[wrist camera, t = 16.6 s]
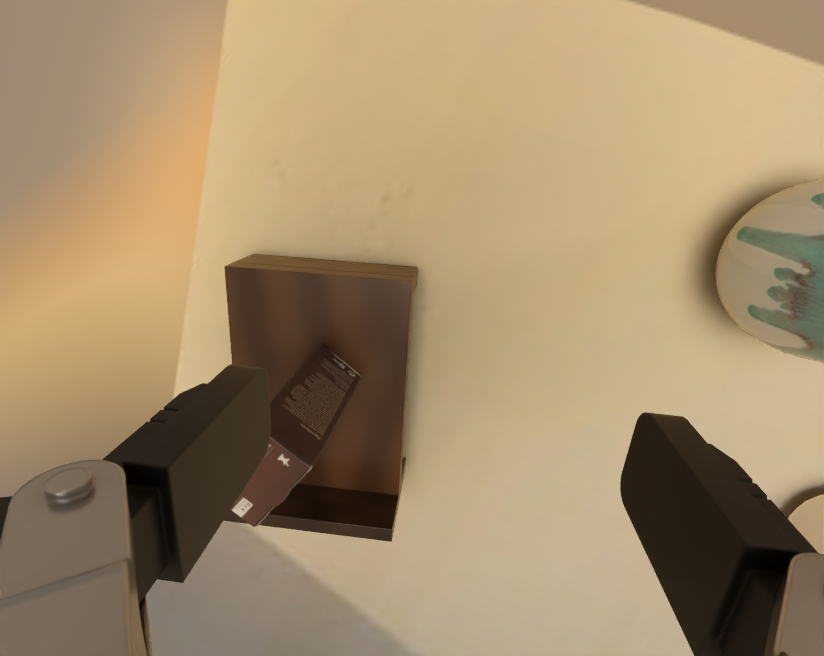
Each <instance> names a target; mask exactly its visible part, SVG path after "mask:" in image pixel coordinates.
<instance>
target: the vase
mask: <svg viewBox="0 0 824 656" xmlns="http://www.w3.org/2000/svg"><path fill="white" fill-rule="evenodd" d="M716 286H717V291H718V294H719V297H720V300H721V302H722V305H723V306H724V308H725V310H726V311H727V313H728V314H729V316H730V317H731V318H732V320H733V321H734V322H735V323H736V324H737V325H738V326H739V327H740V328H741V329H742V330H744V331H745V332H746V333H748V334H749V335H751V336H753V337H755V338H756V339H758V340H760V341H761V342H763V343H765V344H767V345H769V346H771V347H773V348H775V349H777V350H779V351H781V352H783V353H787V354H791V355H794V356H797V357H800V358H804V359H808V360H812V361H816V362H820V363H824V179H819V180H814V181H809V182H805V183H801V184H798V185H795V186H791V187H789V188H786V189H784V190H782V191H780V192H777V193H775V194H773V195H771V196H769V197H768V198H766V199H764V200H763V201H761V202H760V203H758V204H757V205H755V206H754V207H753V208H752V209H750V210H749V211H748V212H747V213H746V214H745V215H744V216H743V217H742V218H741V219H740V220H739V221H738V222H737V223H736V224H735V226H734V227H733V228H732V230H731V231H730V232H729V234H728V235H727V237H726V239H725V241H724V243H723V245H722V247H721V250H720V252H719V256H718V260H717V265H716Z"/></svg>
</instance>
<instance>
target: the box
mask: <svg viewBox="0 0 824 656" xmlns="http://www.w3.org/2000/svg"><path fill="white" fill-rule="evenodd" d="M361 378H362V377H361V375H360V374H359V373H358V372H357V371H356V370H355V369H353V368H352V367H351V366H349V365H348V364H347V363H346V362H345V361H343V360H342V359H340V358H339V357H338V356H337V355H335V354H334V353H333V352H331V351H330V350H329V349H328V348H326V347H325V346H323V345H322V344H321V345H319V346H318V348H317V349H316V350H315V351H314V352H313V353H312V354H311V355H310V357H309V358H308V359H307V360H306V361H305V362H304V363H303V364H302V366H301V367H300V368H299V369H298V370H297V371H296V373H295V374H294V375H293V376H292V377H291V378H290V380H289V381H288V382H287V383H286V384H285V385H284V387H283V388H282V389H281V390H280V391H279V392H278V394H277V395H276V396H275V397H274V398H273V399H272V400H271V402H270V420H271V435H270V442H269V446H268V449H267V452H266V455H265V457H264V458H263V460H262V462H261V463H260V465H259V466H258V468H257V469H256V471H255V472H254V474H253V476H252V477H251V479H250V480H249V482H248V483H247V485H246V486H245V488H244V489H243V491H242V492H241V494H240V496H239V497H238V499H237V500H236V502H235V503H234V505H233V506H232V508H231V510H232V511H233V512H234V513H236V514H237V515H238V516H240V517H241V518H243V519H244V520H245V521H247V522H248V523H249V524H250V525H252V526H254V527H255V526H258V525H259V524H260V523H261V522H262V520H263V519H264V518H265V517H266V516H267V515H268V514H269V513H270V512H271V511H272V510H273V509H274V507H276V506H278V505H279V504H280V503H281V502H283V501H284V499H285V498H286V497H287V496H288V494H289V492H290V491H291V490H292V488H294V487H295V485H296V484H297V483H298V482H299V481H300V480H301V479H302V478H303V477H304V476H305V475H306V474H307V473H308V472H309V471H310V470H311V469H312V467H313V465H314V464H315V462H316V460H317V458H318V456H319V455H320V453H321V451H322V449H323V448H324V446H325V444H326V442H327V440H328V438H329V437H330V435H331V433H332V431H333V429H334V427H335V426H336V424H337V422H338V420H339V418H340V416H341V415H342V413H343V411H344V409H345V407H346V406H347V404H348V402H349V400H350V398H351V396H352V395H353V393H354V391H355V389H356V388H357V386H358V384H359V382H360V380H361Z"/></svg>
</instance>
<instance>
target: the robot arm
mask: <svg viewBox="0 0 824 656" xmlns="http://www.w3.org/2000/svg"><path fill="white" fill-rule="evenodd" d="M270 435H271V420H270V391H269V375H268V372H267V370H266V369H265V368H259V367H250V366H242V365H233V364H231V365H229V366H227V367H226V368H225V369H224V370H223V371H222V372H221V373H219V374H218V375H217V376H216V377H215V378H214V379H213V380H212V381H211V382H209V383H208V384H204V383H202V384H200V385H198V386H196V387H194V388H191V389H189V390H187V391H185V392H183V393H180V394H179V395H178V396H177V397H176V398H174V399H173V400H172V401H171V402H170V403H168V404H167V405H166V406H165V407H164V410H160V411H159V412H158V413H157V414H156V415H154V416H153V417H152V418H151V420H150V422H146V423H145V424H144V425H143V426H141V427H140V428H139V429H138V430H137V431H135V432H134V433H133V434H132V435H131V436H130V437H128V438H127V439H126V440H125V441H124V442H123V443H121V444H120V445H119V446H118V447H117V448H116V449H114V450H113V451H112V452H111V453H110V454H109V455H107V456H106V457H105V458H104V459H103V460H85V461H78V462H73V463H69V464H65V465H62V466H59V467H56V468H53V469H51V470H48V471H46V472H44V473H42V474H40V475H38V476H36V477H34V478H33V479H31V480H30V481H28V482H27V483H26V484H25V485H23V486H22V487H21V488H20V489H19V490H18V491H17V492H16V493H15V494H14V496H11V497H1V498H0V656H153V655H152V645H151V635H150V625H149V615H148V605H147V599H146V594H147V592H148V591H149V590H150V588H151V587H152V585H153V584H154V583H155V581H156V580H157V579H160V580H167V581H174V582H180V583H183V582H184V580H185V579H186V577H187V576H188V574H189V573H190V571H191V569H192V568H193V566H194V565H195V563H196V562H197V560H198V559H199V557H200V556H201V554H202V553H203V551H204V549H205V548H206V546H207V545H208V543H209V542H210V540H211V539H212V537H213V536H214V534H215V532H216V531H217V529H218V528H219V526H220V525H221V523H222V522H223V520H224V519H225V517H226V516H227V514H228V512H229V511H230V509H231V508H232V506H233V505H234V503H235V502H236V500H237V499H238V497H239V496H240V494H241V492H242V491H243V489H244V488H245V486H246V485H247V483H248V482H249V480H250V479H251V477H252V476H253V474H254V472H255V471H256V469H257V468H258V466H259V465H260V463H261V462H262V460H263V458H264V457H265V455H266V452H267V449H268V446H269V442H270ZM621 497H622V501H623V504H624V507H625V509H626V511H627V513H628V515H629V517H630V520H631V522H632V524H633V526H634V528H635V530H636V532H637V535H638V537H639V539H640V541H641V543H642V545H643V547H644V549H645V552H646V554H647V556H648V558H649V560H650V562H651V564H652V566H653V569H654V571H655V573H656V575H657V577H658V579H659V581H660V584H661V586H662V588H663V590H664V592H665V594H666V596H667V598H668V601H669V603H670V605H671V607H672V609H673V611H674V613H675V615H676V618H677V620H678V622H679V624H680V626H681V628H682V630H683V633H684V635H685V637H686V639H687V641H688V643H689V645H690V647H691V650H692V652H693V654H694V656H824V554H819V553H818V552H817V551H816V550H815V548H814V547H813V546H812V545H811V544H810V543H809V542H808V541H807V540H806V538H805V537H804V536H803V535H802V534H801V533H800V532H799V531H798V530H797V528H796V527H795V526H794V525H793V524H792V523H791V522H790V521H789V520H788V519H787V517H786V516H785V515H784V514H783V513H782V512H781V511H780V510H779V509H778V507H777V506H776V505H775V504H774V503H773V502H772V501H771V500H767V495H766V494H765V493H764V492H763V491H762V490H761V489H760V488H759V486H758V485H757V484H755V483H752V479H751V478H750V476H749V475H748V474H747V473H746V472H745V471H744V470H743V469H742V468H741V467H740V465H739V464H738V463H737V462H736V461H735V460H733V459H732V458H730V457H729V456H727V455H726V454H725V453H723V452H722V451H720V450H719V449H717V448H716V447H714V446H713V445H711V444H707V442H706V441H705V440H704V439H703V438H702V437H701V435H700V434H699V433H698V432H697V431H696V430H695V429H694V427H693V426H692V425H691V424H690V423H689V422H688V420H687V419H686V418H684V417H681V416H672V415H663V414H654V413H642V414H641V415H640V416H639V418H638V420H637V423H636V426H635V429H634V433H633V436H632V440H631V443H630V447H629V450H628V454H627V457H626V461H625V464H624V468H623V471H622V475H621Z"/></svg>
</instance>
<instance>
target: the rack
mask: <svg viewBox="0 0 824 656" xmlns="http://www.w3.org/2000/svg"><path fill="white" fill-rule="evenodd" d="M417 274H418V267H409V266H397V265H384V264H372V263H359V262H347V261H334V260H322V259H310V258H297V257H285V256H272V255H260V254H252V255H250V256H247V257H245V258H243V259H241V260H238V261H236V262H233V263H231V264H229V265H227V266H225V277H226V290H227V302H228V315H229V327H230V340H231V353H232V364H233V365H242V366H250V367H259V368H265V369H266V370H267V372H268V375H269V391H270V402H271V400H272V399H273V398H274V397H275V396H276V395H277V394H278V392H279V391H280V390H281V389H282V388H283V387H284V385H285V384H286V383H287V382H288V381H289V380H290V378H291V377H292V376H293V375H294V374H295V373H296V371H297V370H298V369H299V368H300V367H301V366H302V364H303V363H304V362H305V361H306V360H307V359H308V358H309V357H310V355H311V354H312V353H313V352H314V351H315V350H316V349H317V348H318V346H319V345H321V344H322V345H323V346H325V347H326V348H328V349H329V350H330V351H331V352H333V353H334V354H335V355H337V356H338V357H339V358H340V359H342V360H343V361H345V362H346V363H347V364H348V365H349V366H351V367H352V368H353V369H355V370H356V371H357V372H358V373H359V374H360V375H361V377H362V378H361V380H360V382H359V384H358V386H357V388H356V389H355V391H354V393H353V395H352V396H351V398H350V400H349V402H348V404H347V406H346V407H345V409H344V411H343V413H342V415H341V416H340V418H339V420H338V422H337V424H336V426H335V427H334V429H333V431H332V433H331V435H330V437H329V438H328V440H327V442H326V444H325V446H324V448H323V449H322V451H321V453H320V455H319V456H318V458H317V460H316V462H315V464H314V465H313V467H312V469H311V470H310V471H309V472H308V473H307V474H306V475H305V476H304V477H303V478H302V479H301V480H300V481H299V482H298V483H297V484H296V485H295V487H294V488H292V490H291V491H290V492H289V494H288V496H287V497H286V498H285V499H284V501H283V502H281V503H280V504H279V505H278V506H276V507H274V509H273V510H272V511H271V512H270V513H269V514H268V515H267V516H266V517H265V518H264V519H263V520H262V522H261V523H260V524H259V525H263V526H271V527H279V528H287V529H295V530H303V531H311V532H319V533H327V534H335V535H343V536H351V537H359V538H367V539H375V540H383V541H392V537H393V532H394V526H395V521H396V515H397V510H398V505H399V499H400V494H401V488H402V483H403V478H404V472H405V460H406V458H403V443H404V427H405V411H406V395H407V379H408V363H409V346H410V330H411V314H412V298H413V293H414V290H415V288H416V285H417ZM223 521H231V522H239V523H247V524H249V523H248V522H247V521H245V520H244V519H243V518H241V517H240V516H238V515H237V514H236V513H234V512H233V511H232V510H231V509H230V511H229V512H228V514H227V516H226V517H225V519H224V520H223Z"/></svg>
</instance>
